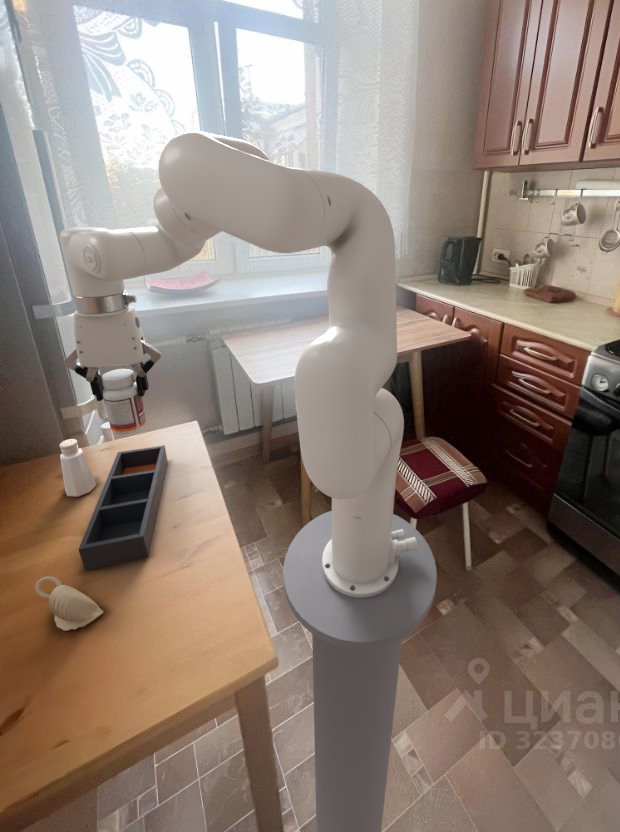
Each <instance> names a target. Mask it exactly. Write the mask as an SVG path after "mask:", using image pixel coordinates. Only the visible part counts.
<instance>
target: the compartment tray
mask: <svg viewBox="0 0 620 832" xmlns="http://www.w3.org/2000/svg"><path fill="white" fill-rule="evenodd" d="M168 463H169V461H168V457H167V451H166V446H165V445H158V446H150V447H144V448H143V447H142V448H137V449H136V448H135V449H130V450H123V451H117V453H116V456H115V459H114V461H113V463H112V466H111V467H110V471H109V473H108V475H107V478H106V480H105V483H104V485H103V487H102V489H101V493H100V495H99V497H98V500H97V503H96V504H95V508H94V510H93V512H92V515H91V518H90V519H89V522H88V525H87V527H86V529H85V532H84V535H83V537H82V539H81V542H80V544H79V547H78V549H77V550H78V553H79V556H80V559H81V562H82V565H83V568H84V571H89V570H94V569H100V568H104V567H108V566H112V565H117V564H122V563H127V562H132V561H136V560H140V559H146V558H149V555H150V551H151V546H152V540H153V536H154V532H155V527H156V521H157V516H158V511H159V507H160V502H161V498H162V493H163V487H164V484H165V478H166V473H167V468H168Z"/></svg>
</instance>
